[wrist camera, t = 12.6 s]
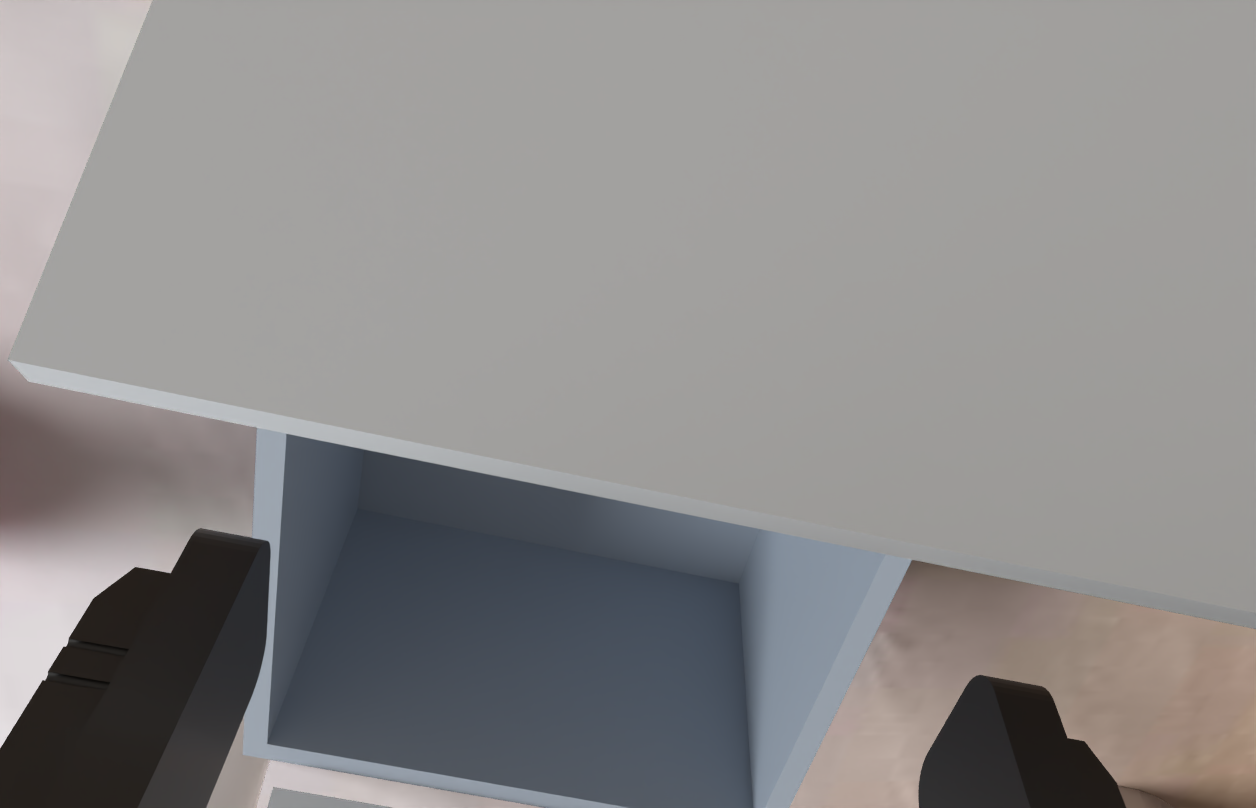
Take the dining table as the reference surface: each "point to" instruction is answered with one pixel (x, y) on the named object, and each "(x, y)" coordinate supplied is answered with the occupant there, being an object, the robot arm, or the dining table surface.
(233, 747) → the drinking glass
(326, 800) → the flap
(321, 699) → the carton
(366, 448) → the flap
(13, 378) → the dining table surface
